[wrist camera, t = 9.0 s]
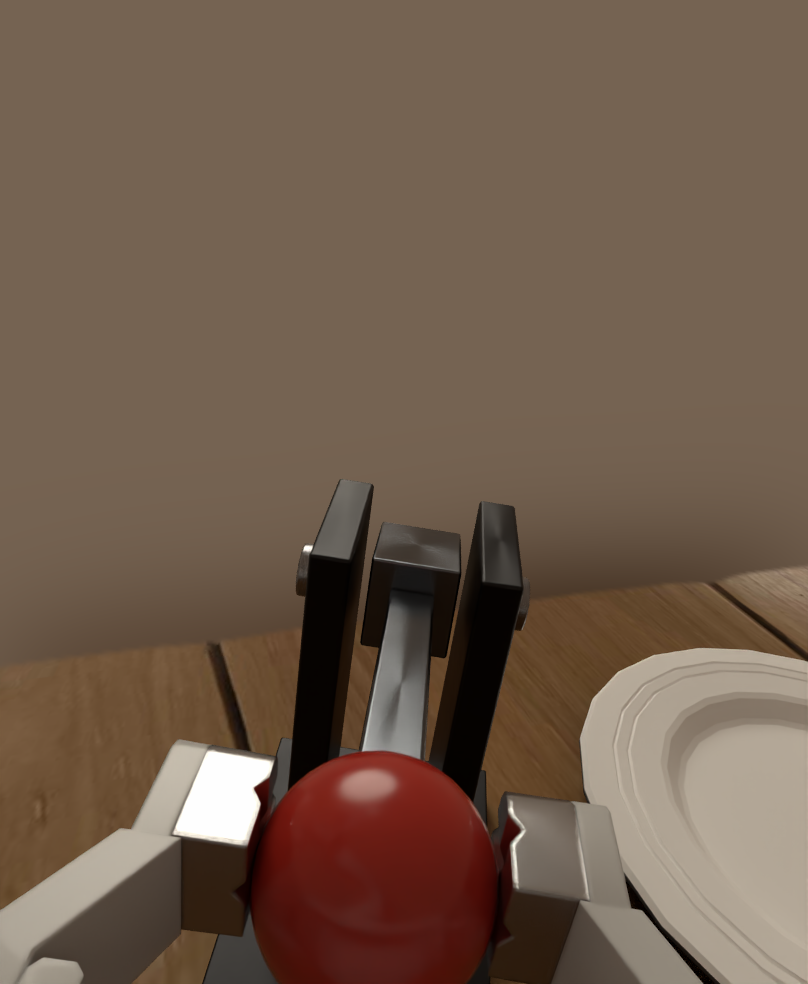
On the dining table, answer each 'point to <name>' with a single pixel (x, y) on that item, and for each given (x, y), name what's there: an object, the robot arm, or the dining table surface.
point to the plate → (711, 803)
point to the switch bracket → (327, 661)
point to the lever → (382, 813)
